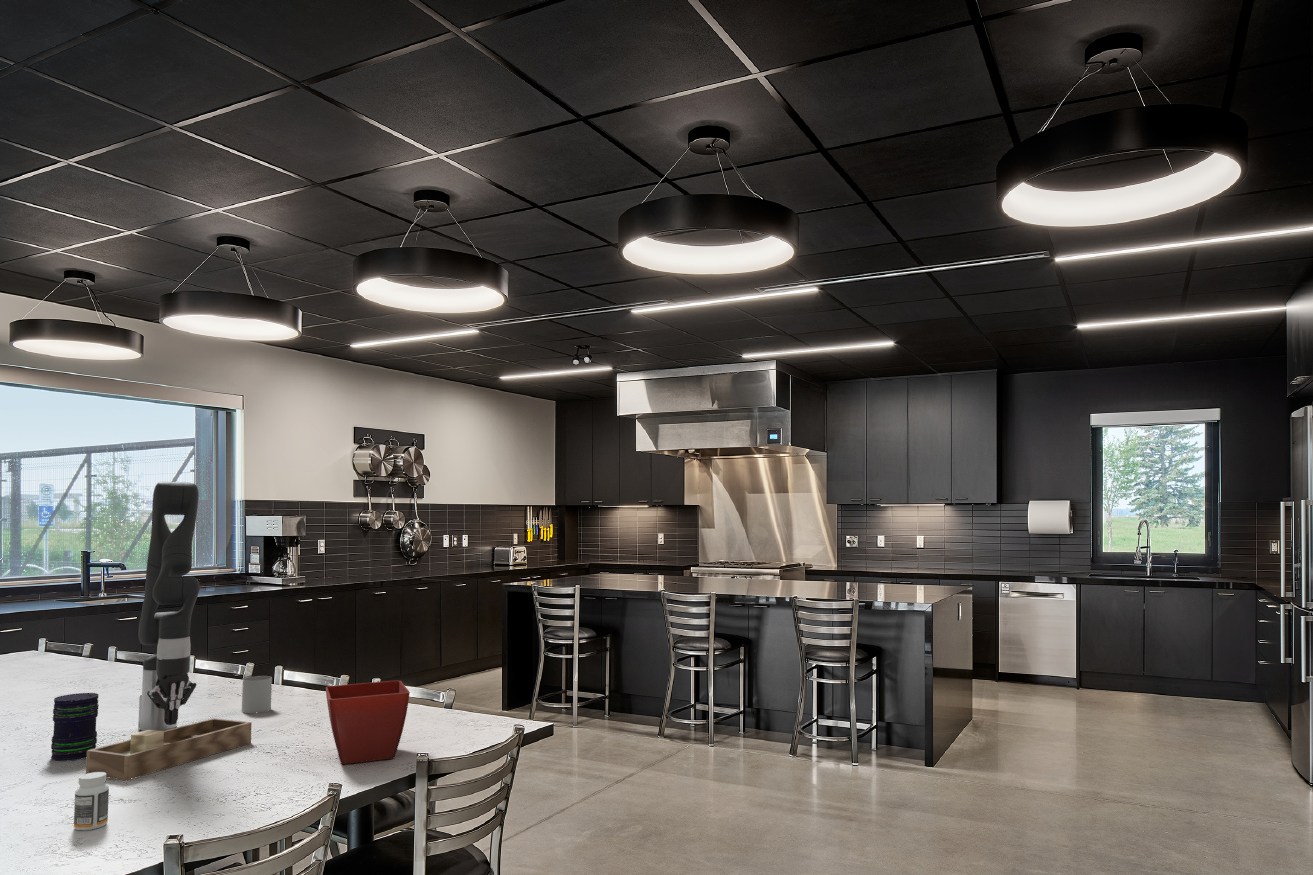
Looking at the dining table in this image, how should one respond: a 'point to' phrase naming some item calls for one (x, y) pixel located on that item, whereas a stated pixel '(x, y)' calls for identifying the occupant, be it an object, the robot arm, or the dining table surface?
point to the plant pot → (367, 719)
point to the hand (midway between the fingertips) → (170, 723)
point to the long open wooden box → (169, 749)
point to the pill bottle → (91, 802)
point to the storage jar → (74, 726)
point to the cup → (256, 694)
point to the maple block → (146, 740)
